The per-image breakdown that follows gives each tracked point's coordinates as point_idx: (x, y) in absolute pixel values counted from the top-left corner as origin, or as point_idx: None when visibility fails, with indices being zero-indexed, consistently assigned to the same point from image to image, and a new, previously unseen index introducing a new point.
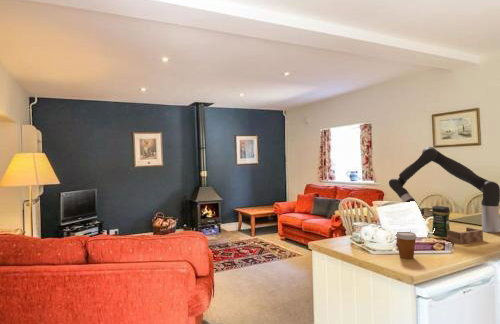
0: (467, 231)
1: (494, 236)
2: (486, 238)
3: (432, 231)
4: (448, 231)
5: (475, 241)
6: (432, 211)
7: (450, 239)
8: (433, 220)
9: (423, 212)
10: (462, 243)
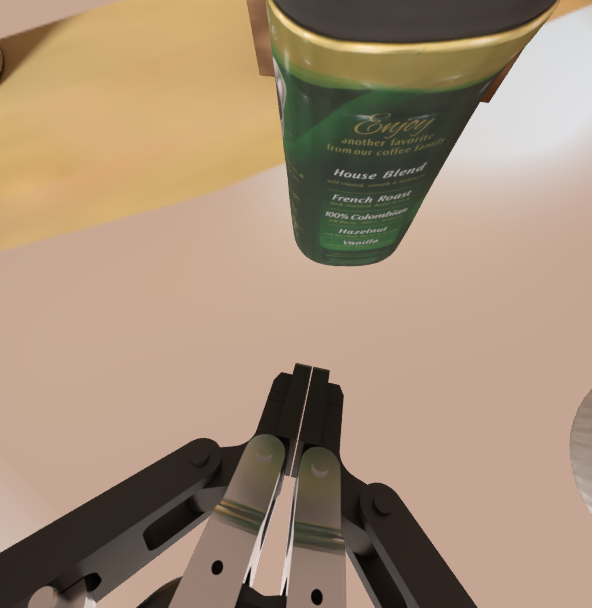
0: None
1: (112, 6)
2: (209, 7)
3: (396, 246)
4: None
5: None
6: (552, 1)
7: None
8: (447, 155)
9: (146, 483)
10: None
